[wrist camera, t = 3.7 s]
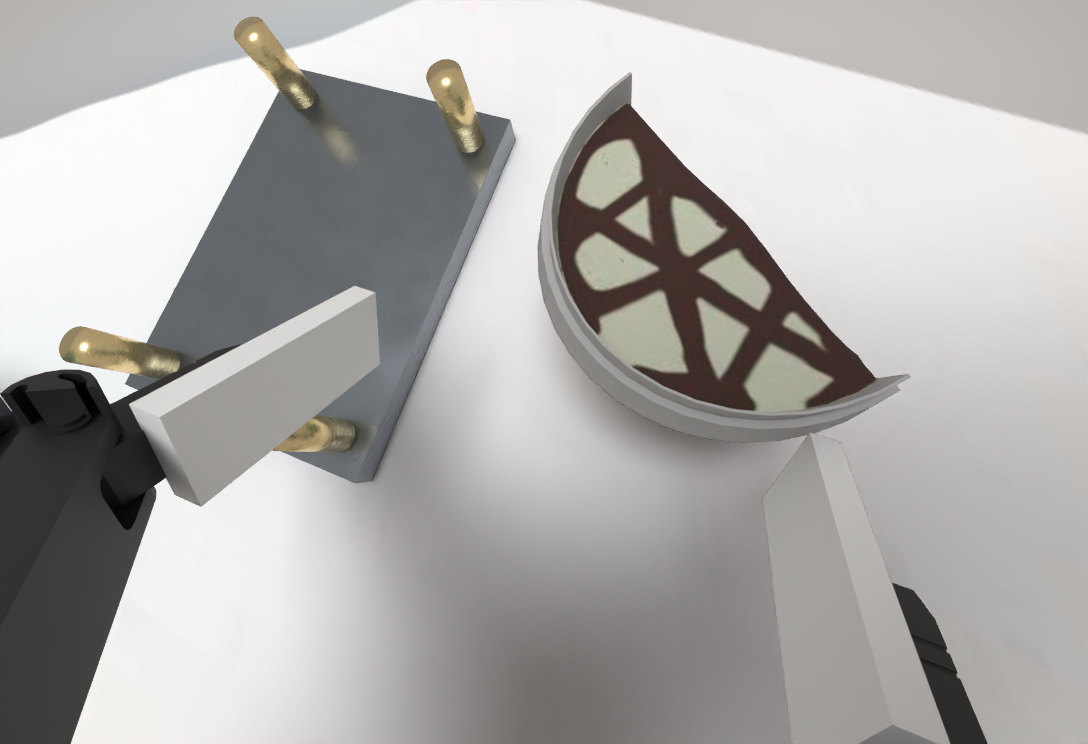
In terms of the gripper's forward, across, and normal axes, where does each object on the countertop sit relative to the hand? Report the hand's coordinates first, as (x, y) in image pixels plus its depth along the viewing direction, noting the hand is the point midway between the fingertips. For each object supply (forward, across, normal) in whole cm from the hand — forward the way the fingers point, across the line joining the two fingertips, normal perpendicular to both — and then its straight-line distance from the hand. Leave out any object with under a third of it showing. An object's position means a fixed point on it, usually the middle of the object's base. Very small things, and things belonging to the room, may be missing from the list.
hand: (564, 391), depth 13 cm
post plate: (+8, -15, -3) cm, 18 cm away
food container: (+8, +2, -3) cm, 9 cm away
